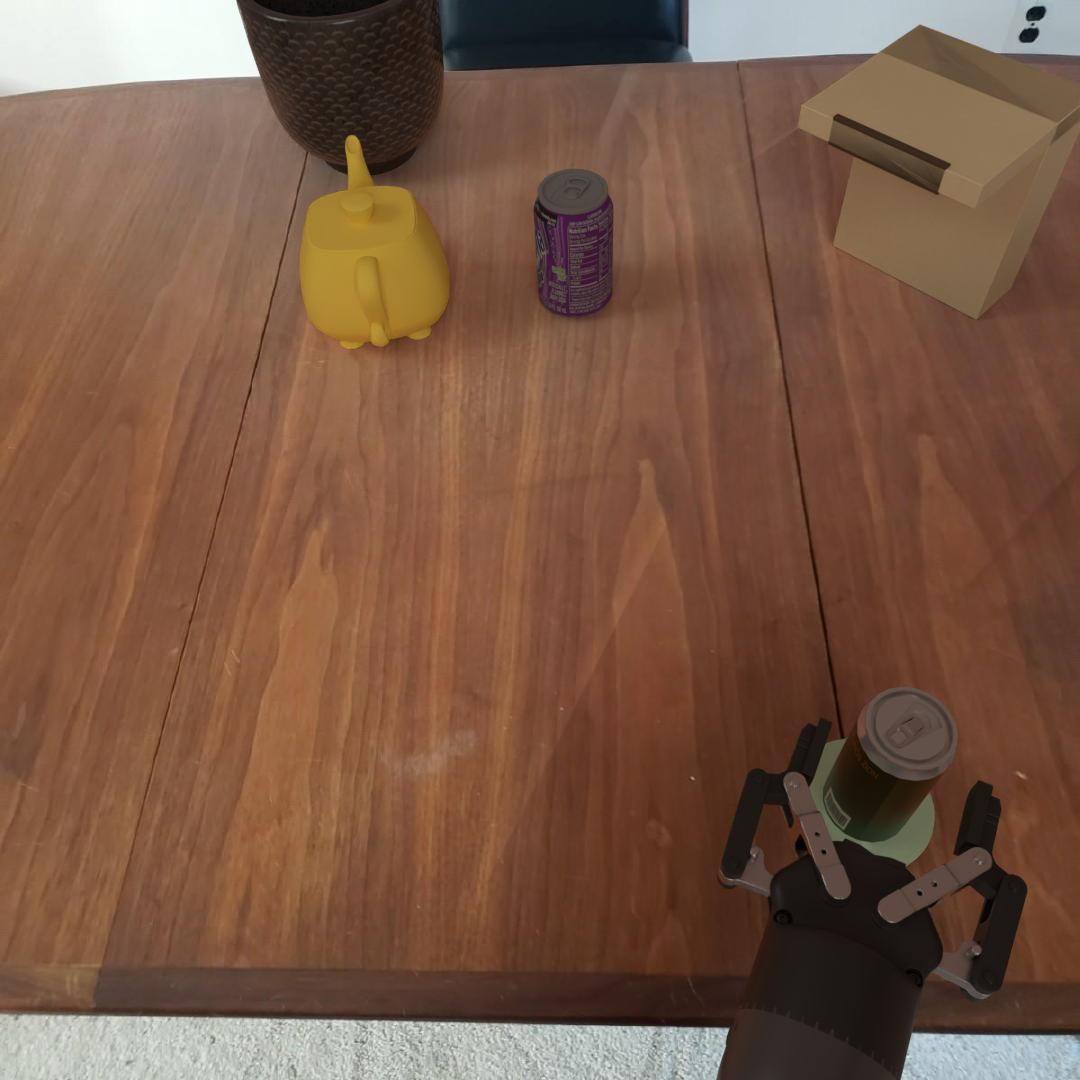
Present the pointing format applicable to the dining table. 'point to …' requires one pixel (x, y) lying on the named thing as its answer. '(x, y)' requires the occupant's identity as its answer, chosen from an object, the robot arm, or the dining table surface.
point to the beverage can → (574, 242)
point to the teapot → (371, 262)
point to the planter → (350, 73)
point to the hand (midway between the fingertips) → (900, 755)
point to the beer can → (889, 763)
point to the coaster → (897, 847)
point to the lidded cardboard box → (946, 162)
